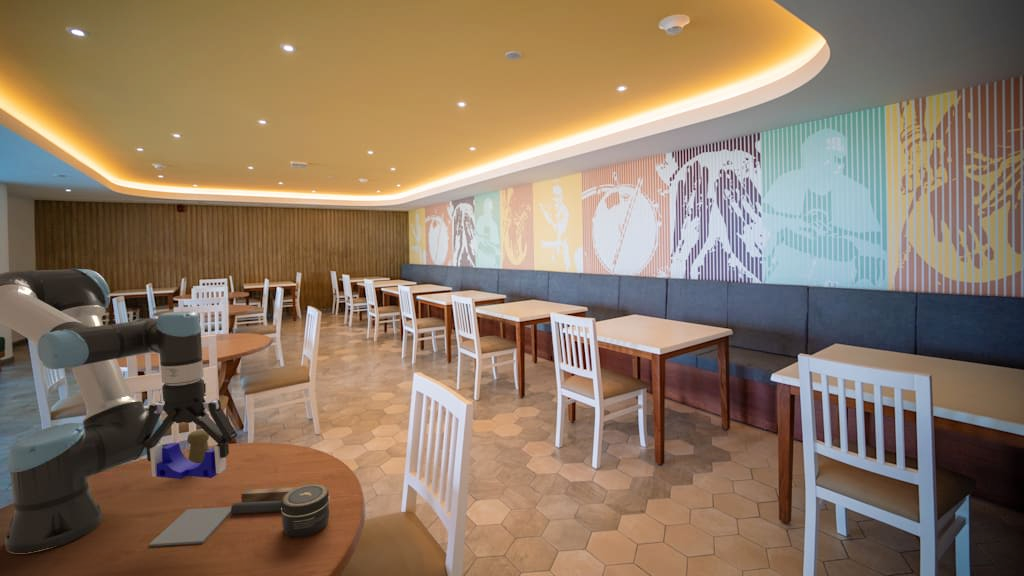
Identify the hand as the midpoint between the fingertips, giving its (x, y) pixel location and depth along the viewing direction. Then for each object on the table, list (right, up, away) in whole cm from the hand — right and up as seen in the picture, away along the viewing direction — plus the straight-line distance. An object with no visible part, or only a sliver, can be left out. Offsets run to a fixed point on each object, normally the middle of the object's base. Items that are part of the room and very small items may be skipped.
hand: (189, 472), depth 100 cm
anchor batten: (+12, -12, +12) cm, 21 cm away
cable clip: (0, -1, 0) cm, 1 cm away
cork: (-19, -11, +30) cm, 37 cm away
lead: (+12, -11, +9) cm, 19 cm away
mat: (0, -13, +2) cm, 13 cm away
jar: (+26, -13, +2) cm, 29 cm away
